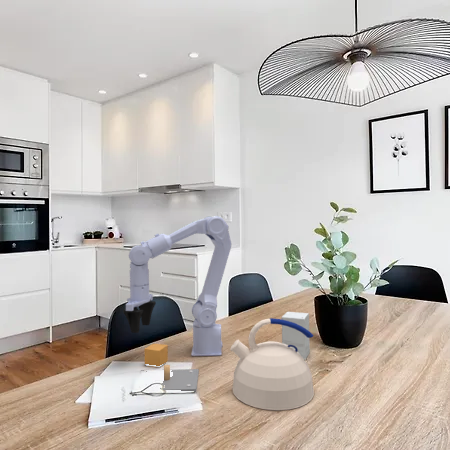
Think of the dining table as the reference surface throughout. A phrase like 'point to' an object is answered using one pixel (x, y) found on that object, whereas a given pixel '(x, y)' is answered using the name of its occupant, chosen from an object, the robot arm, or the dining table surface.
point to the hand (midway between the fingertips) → (140, 328)
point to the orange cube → (156, 354)
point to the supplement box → (296, 332)
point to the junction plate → (180, 379)
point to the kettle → (272, 372)
